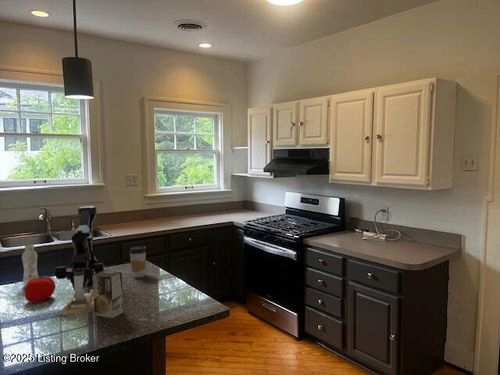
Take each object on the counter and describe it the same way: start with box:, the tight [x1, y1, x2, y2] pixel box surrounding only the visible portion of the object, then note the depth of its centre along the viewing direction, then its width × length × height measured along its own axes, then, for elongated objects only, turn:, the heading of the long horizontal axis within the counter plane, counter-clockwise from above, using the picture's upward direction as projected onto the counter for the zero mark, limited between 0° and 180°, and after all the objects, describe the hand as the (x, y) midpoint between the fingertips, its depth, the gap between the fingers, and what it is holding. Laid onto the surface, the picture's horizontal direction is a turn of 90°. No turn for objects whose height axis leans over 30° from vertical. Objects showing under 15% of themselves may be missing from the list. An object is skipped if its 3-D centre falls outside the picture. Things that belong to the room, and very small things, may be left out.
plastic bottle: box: [21, 243, 39, 287], centre depth 176 cm, size 6×7×20 cm
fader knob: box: [72, 270, 87, 304], centre depth 149 cm, size 4×5×13 cm
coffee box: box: [92, 270, 124, 319], centre depth 141 cm, size 9×6×16 cm
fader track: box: [61, 289, 94, 316], centre depth 152 cm, size 19×11×3 cm, turn 18°
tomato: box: [24, 275, 56, 303], centre depth 157 cm, size 11×13×10 cm
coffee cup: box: [129, 245, 147, 279], centre depth 190 cm, size 8×8×15 cm
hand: (78, 289), depth 148 cm, fingers closed on fader knob, 3 cm apart
